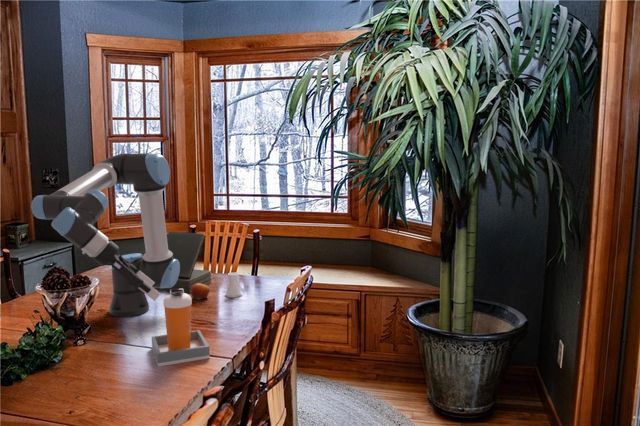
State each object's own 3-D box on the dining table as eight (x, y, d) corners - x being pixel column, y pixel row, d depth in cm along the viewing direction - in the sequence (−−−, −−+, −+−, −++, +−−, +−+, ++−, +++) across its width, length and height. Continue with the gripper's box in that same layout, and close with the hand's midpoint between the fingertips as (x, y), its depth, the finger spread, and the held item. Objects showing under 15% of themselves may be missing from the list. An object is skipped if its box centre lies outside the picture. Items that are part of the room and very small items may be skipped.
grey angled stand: (147, 289, 250) (144, 237, 247) (171, 279, 269) (169, 230, 265) (189, 294, 243) (187, 240, 240) (211, 283, 261) (210, 232, 258)
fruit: (184, 298, 231) (189, 280, 234) (194, 302, 238) (199, 285, 241) (200, 300, 228) (205, 282, 231) (209, 304, 235) (214, 287, 238)
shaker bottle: (168, 357, 170) (166, 296, 167) (162, 347, 177) (160, 289, 175) (196, 352, 174) (194, 292, 171) (189, 343, 182) (187, 285, 179)
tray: (152, 348, 180) (151, 336, 179) (199, 340, 186) (199, 329, 186) (158, 366, 165) (157, 354, 165) (209, 358, 172) (209, 346, 171)
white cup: (245, 294, 242) (245, 272, 240) (234, 298, 236) (234, 276, 234) (233, 291, 246) (232, 270, 245) (221, 295, 240) (221, 274, 238)
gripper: (91, 250, 172) (142, 290, 180) (92, 267, 150) (150, 312, 158) (107, 232, 174) (157, 273, 182) (112, 247, 151) (168, 292, 159)
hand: (154, 291), depth 170 cm, fingers open, 13 cm apart
